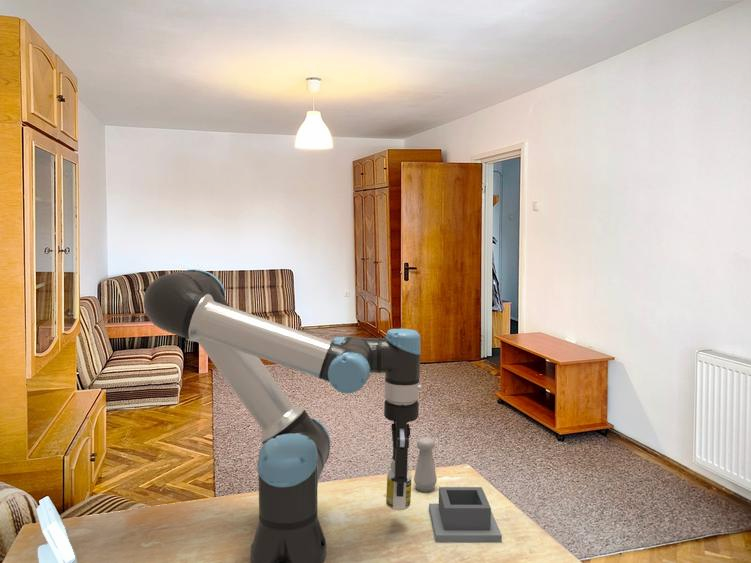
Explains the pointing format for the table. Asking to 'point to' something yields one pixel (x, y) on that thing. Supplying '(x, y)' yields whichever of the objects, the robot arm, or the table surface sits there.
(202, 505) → the table surface
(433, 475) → the salt shaker
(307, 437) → the robot arm
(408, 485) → the supplement bottle
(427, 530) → the table surface
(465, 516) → the socket board
